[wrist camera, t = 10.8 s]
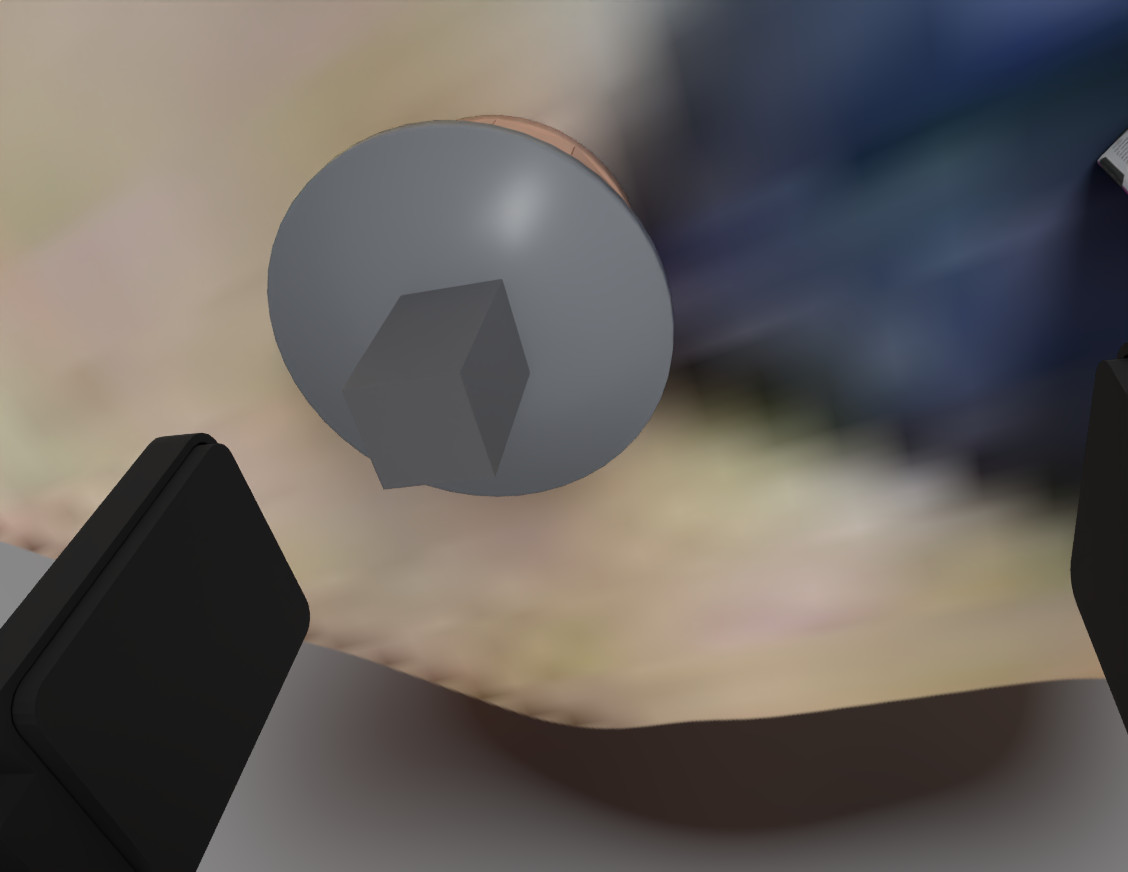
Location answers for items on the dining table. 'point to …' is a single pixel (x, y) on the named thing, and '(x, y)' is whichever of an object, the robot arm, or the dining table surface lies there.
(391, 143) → the lid
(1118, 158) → the candy bar box
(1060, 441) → the dining table surface
